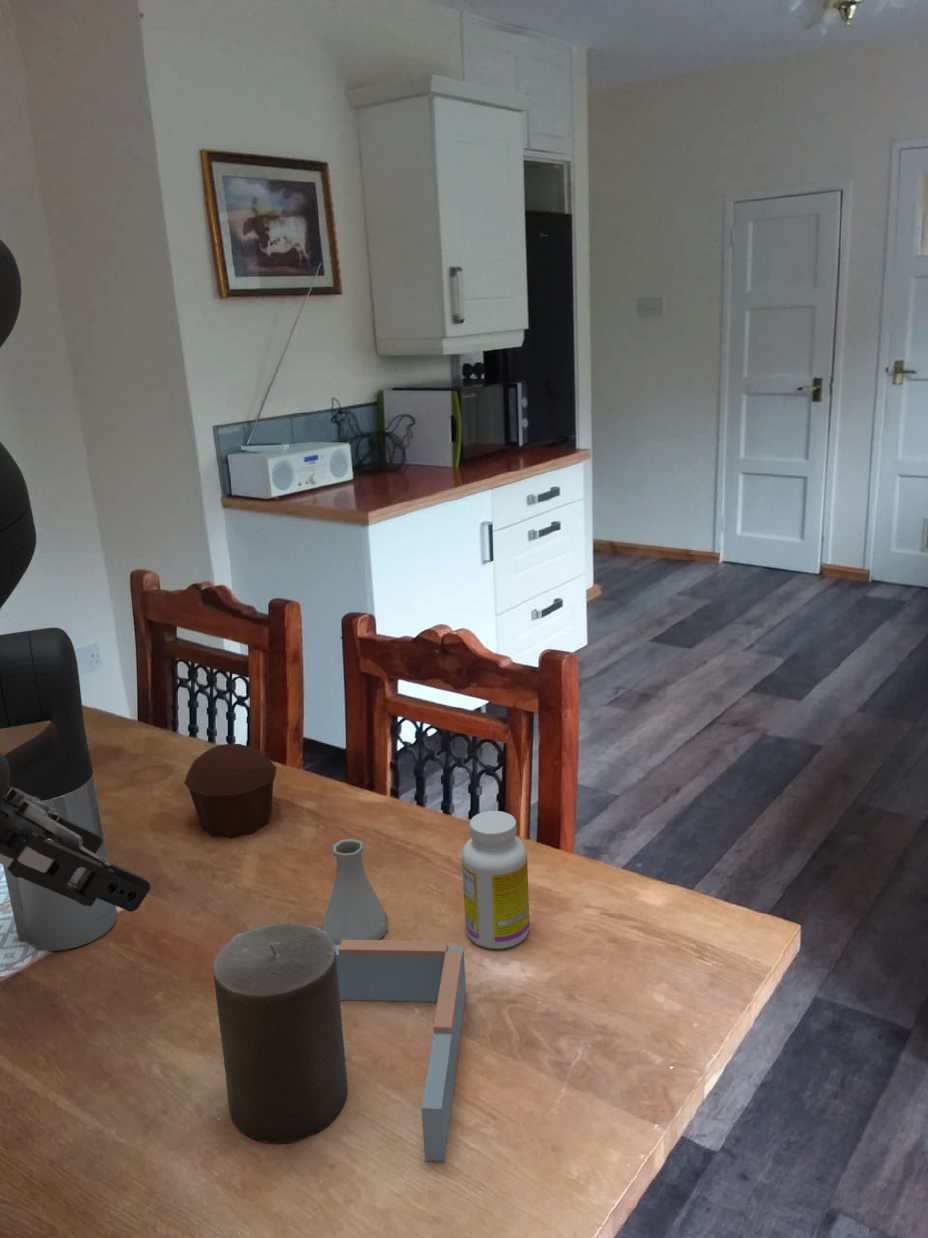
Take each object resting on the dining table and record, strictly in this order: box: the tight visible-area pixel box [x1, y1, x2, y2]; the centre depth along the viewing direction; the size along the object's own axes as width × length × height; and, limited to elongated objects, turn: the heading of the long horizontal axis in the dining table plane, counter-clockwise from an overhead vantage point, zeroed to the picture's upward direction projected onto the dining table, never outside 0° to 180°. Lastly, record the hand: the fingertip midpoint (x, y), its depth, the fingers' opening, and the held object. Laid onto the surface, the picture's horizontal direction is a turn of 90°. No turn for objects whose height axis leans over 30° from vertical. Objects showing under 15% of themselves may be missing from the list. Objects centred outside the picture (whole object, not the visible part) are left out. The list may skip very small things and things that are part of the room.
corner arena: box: [334, 939, 467, 1163], centre depth 84 cm, size 20×20×6 cm
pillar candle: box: [212, 922, 348, 1144], centre depth 79 cm, size 10×10×15 cm
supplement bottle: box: [461, 810, 530, 950], centre depth 100 cm, size 7×7×13 cm
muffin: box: [184, 743, 277, 840], centre depth 126 cm, size 12×11×10 cm
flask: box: [321, 838, 389, 945], centre depth 102 cm, size 7×7×10 cm
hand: (116, 872), depth 70 cm, fingers open, 8 cm apart
